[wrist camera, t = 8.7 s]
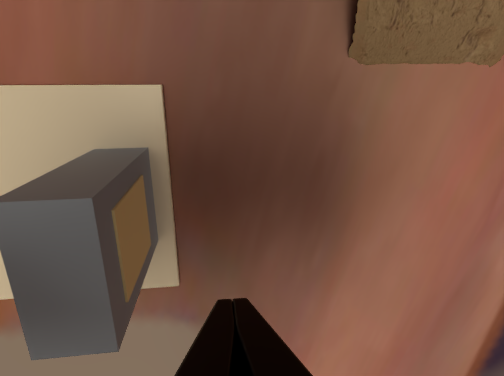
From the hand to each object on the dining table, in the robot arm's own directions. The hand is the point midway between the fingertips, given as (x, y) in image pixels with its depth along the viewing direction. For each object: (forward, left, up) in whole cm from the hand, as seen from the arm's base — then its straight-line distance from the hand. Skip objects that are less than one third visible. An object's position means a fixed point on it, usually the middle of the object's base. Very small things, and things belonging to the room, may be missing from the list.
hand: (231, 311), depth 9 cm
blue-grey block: (+6, 0, -11) cm, 13 cm away
